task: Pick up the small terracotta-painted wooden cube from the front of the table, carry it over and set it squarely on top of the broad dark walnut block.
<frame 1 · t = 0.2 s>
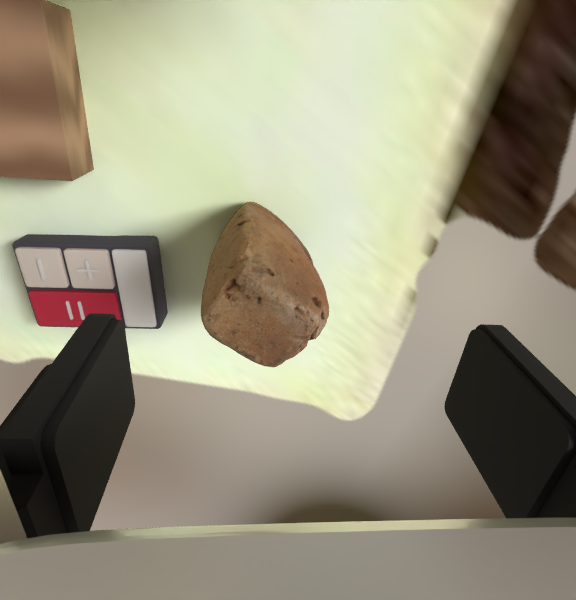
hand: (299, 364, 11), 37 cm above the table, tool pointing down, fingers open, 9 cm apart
brown rock: (265, 241, 48), on the table
calculator: (101, 275, 49), on the table
walnut block: (9, 90, 38), on the table
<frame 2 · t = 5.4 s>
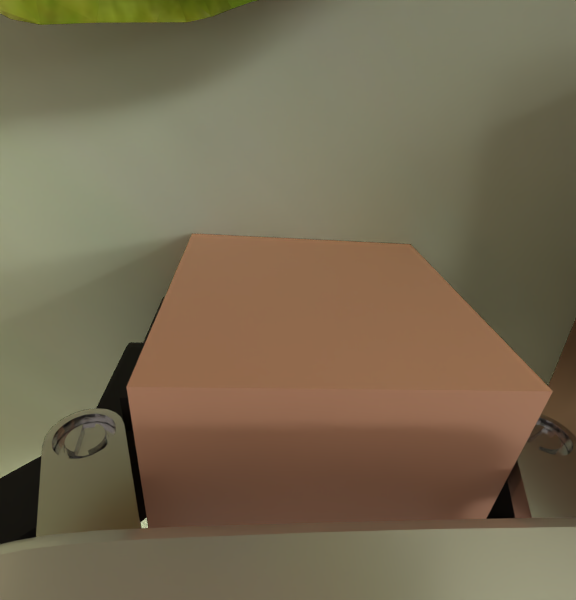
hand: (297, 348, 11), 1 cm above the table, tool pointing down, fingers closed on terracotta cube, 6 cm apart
terracotta cube: (294, 331, 12), on the table, touching gripper
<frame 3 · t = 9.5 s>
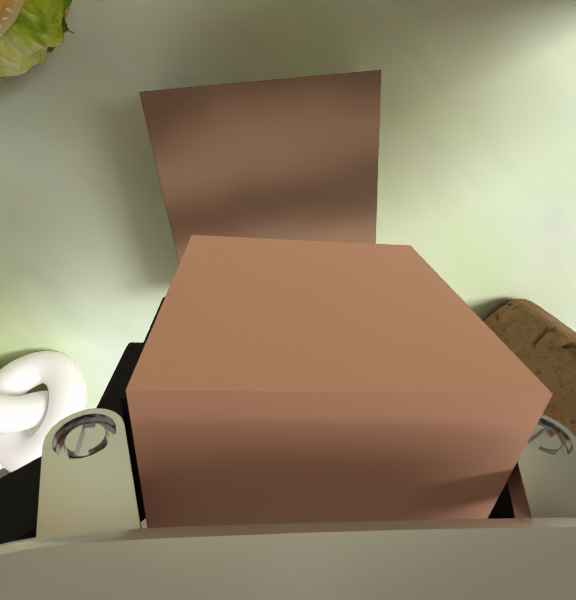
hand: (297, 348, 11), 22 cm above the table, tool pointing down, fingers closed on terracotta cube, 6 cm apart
brown rock: (513, 335, 40), on the table
terracotta cube: (294, 332, 12), point 21 cm above the table, touching gripper
white knot: (45, 376, 38), on the table
walnut block: (269, 181, 31), on the table
when the fingers open (7 cm above the table, at t = 13.5 s): terracotta cube stays where it is, point 6 cm above the table.
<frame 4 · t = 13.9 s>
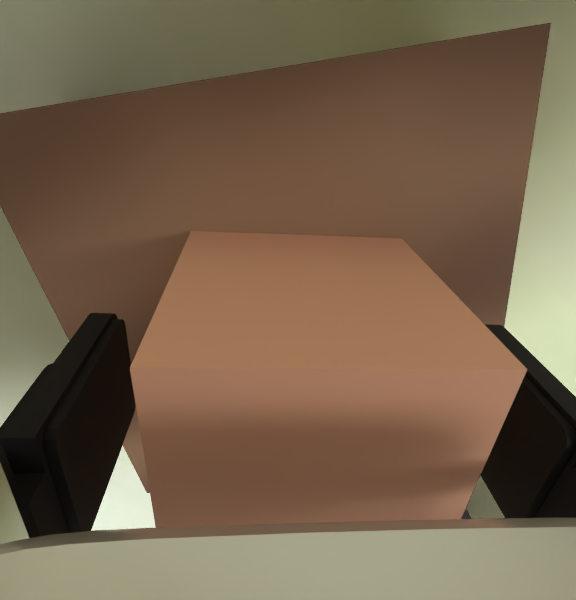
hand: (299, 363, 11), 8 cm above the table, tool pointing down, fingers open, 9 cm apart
terracotta cube: (291, 324, 12), point 6 cm above the table
walnut block: (282, 252, 18), on the table
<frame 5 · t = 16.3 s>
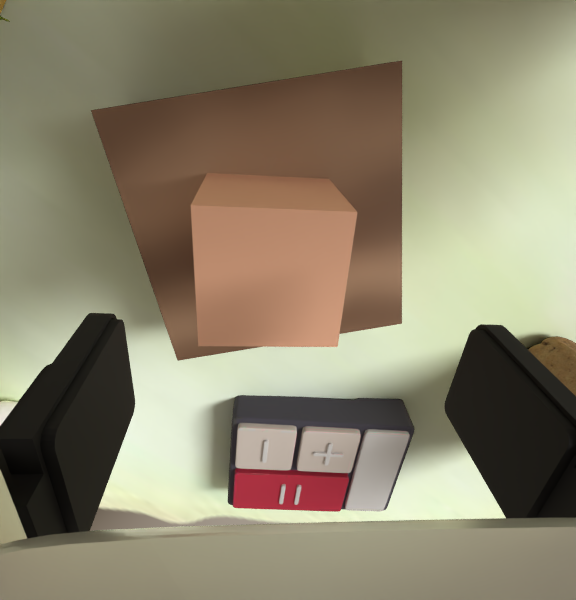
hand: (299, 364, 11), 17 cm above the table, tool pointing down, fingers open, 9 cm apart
brown rock: (546, 375, 35), on the table
calculator: (311, 437, 37), on the table
terracotta cube: (266, 234, 21), point 6 cm above the table, touching walnut block
walnut block: (267, 205, 26), on the table, touching terracotta cube
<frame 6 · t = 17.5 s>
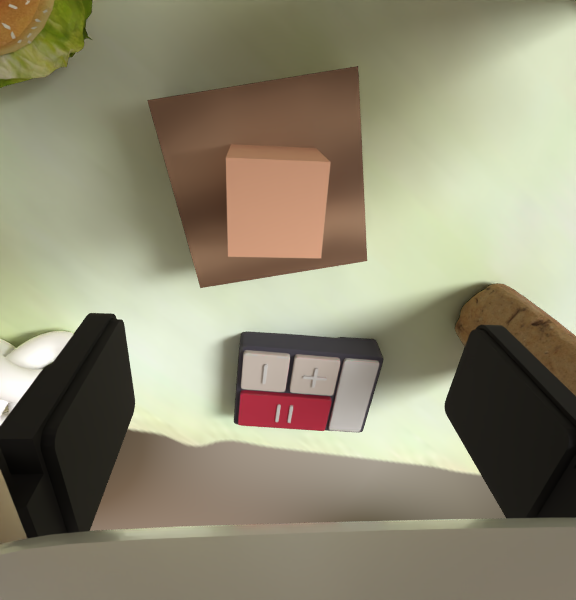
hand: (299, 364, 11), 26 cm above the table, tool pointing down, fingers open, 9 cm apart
brown rock: (493, 319, 43), on the table
calculator: (302, 371, 45), on the table
terracotta cube: (272, 189, 29), point 6 cm above the table, touching walnut block
white knot: (58, 355, 41), on the table
walnut block: (267, 174, 34), on the table, touching terracotta cube
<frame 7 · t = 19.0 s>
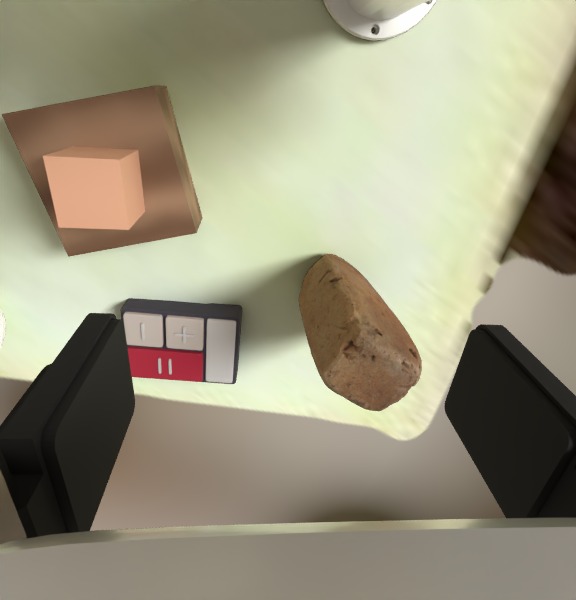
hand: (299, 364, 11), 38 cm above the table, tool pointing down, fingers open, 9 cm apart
brown rock: (337, 285, 53), on the table
calculator: (186, 334, 55), on the table
terracotta cube: (110, 180, 39), point 6 cm above the table, touching walnut block
walnut block: (124, 167, 44), on the table, touching terracotta cube
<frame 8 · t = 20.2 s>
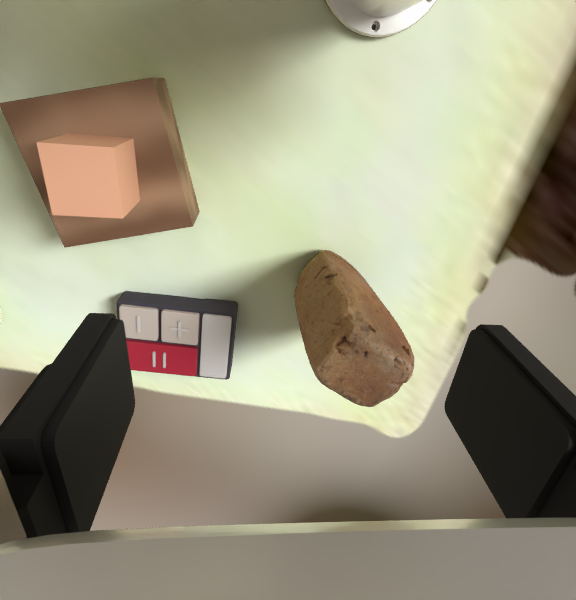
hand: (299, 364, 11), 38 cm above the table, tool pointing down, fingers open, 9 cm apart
brown rock: (333, 282, 53), on the table
calculator: (181, 328, 55), on the table
terracotta cube: (105, 168, 38), point 6 cm above the table, touching walnut block
walnut block: (122, 159, 44), on the table, touching terracotta cube
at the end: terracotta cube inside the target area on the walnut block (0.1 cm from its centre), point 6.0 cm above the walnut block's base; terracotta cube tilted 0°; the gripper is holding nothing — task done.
